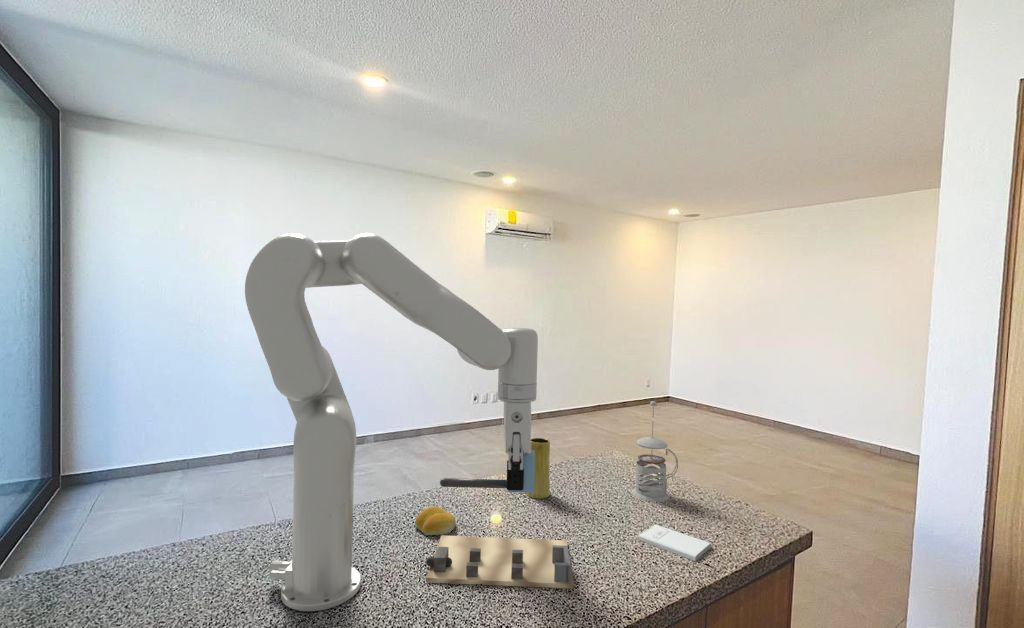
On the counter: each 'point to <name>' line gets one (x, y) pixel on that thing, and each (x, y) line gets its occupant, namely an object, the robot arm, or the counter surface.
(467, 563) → the board
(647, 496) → the french press
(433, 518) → the bread roll
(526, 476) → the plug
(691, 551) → the external hard drive
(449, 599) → the counter surface
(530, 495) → the vase
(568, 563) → the end holder
